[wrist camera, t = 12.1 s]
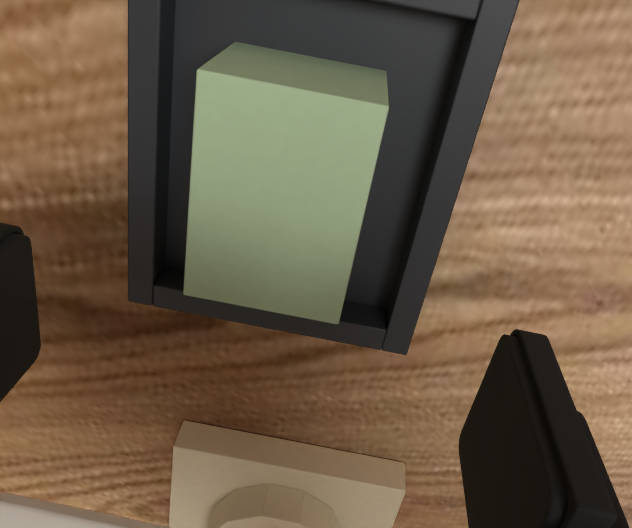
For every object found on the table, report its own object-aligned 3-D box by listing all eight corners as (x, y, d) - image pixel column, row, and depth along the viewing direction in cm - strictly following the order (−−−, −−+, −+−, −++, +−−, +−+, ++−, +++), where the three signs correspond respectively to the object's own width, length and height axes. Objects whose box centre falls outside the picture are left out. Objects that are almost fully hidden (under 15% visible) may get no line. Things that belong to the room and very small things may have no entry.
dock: (508, -16, 17) (523, -11, 16) (404, 324, 24) (406, 355, 22) (153, -86, 17) (127, -88, 16) (146, 274, 24) (127, 301, 22)
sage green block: (387, 70, 18) (389, 106, 15) (345, 256, 22) (338, 325, 18) (234, 40, 18) (196, 68, 15) (217, 231, 22) (182, 295, 18)
